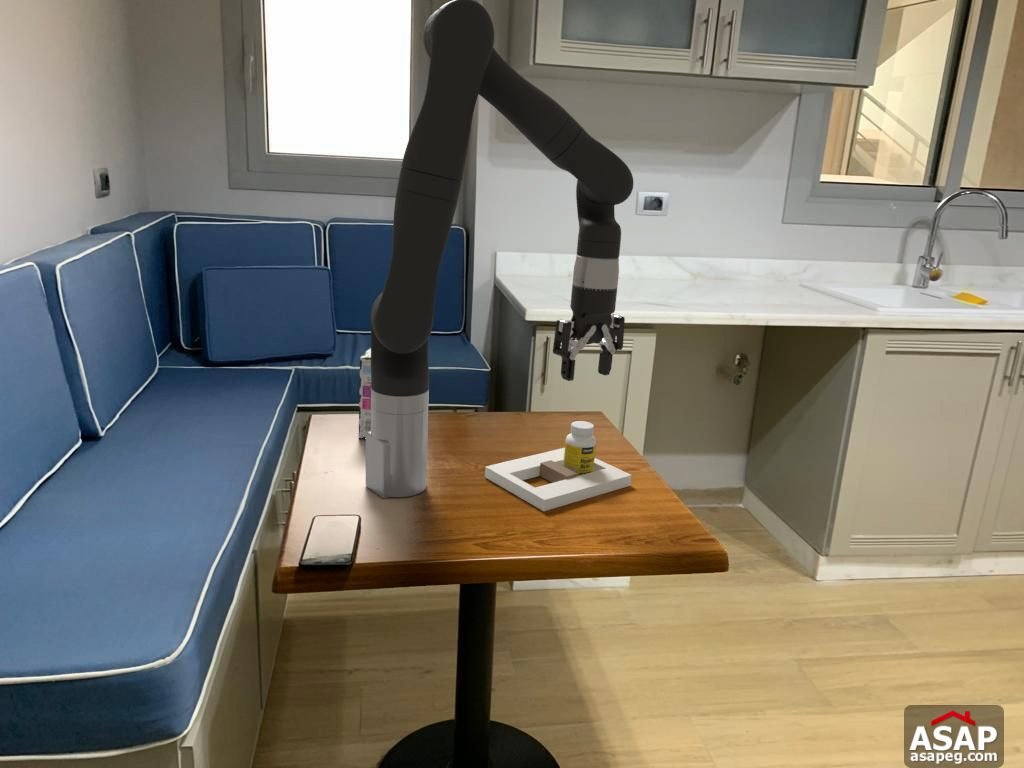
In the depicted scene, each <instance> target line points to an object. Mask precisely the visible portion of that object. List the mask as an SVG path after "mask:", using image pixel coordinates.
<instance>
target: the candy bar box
mask: <svg viewBox="0 0 1024 768" xmlns="http://www.w3.org/2000/svg"><path fill="white" fill-rule="evenodd" d="M358 397H359V399H358V400H359V402H358V404H359V405H358V406H359V407H358V437H359V438H366V433H367V432H369V431H371V346H370V347H369V348H368V349H367V350H366V351H365V352H364V353H363V354H362V355H361V356H360V357H359V396H358ZM359 438H358V439H359Z"/></svg>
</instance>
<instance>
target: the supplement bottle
mask: <svg viewBox="0 0 1024 768" xmlns="http://www.w3.org/2000/svg"><path fill="white" fill-rule="evenodd" d="M594 427H595V425H594V424H593V423H591V422H588V421H586V420H585V421H582V420H578V421H573V422H571V424H570V432H571V433H569V434H567V435H566V438H565V442H564V443H565V445H564V448H565V452H564V463H563V466H564V467H566V468H568V469H570V470H572V471H574V472H576V473H578V474H577V476H580V475H584V474H587V473H591V472H593V467H594V458H596V457H595V455H596V448H597V439H596V437H595V436H594V429H595V428H594Z"/></svg>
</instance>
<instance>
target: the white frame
mask: <svg viewBox="0 0 1024 768" xmlns="http://www.w3.org/2000/svg"><path fill="white" fill-rule="evenodd" d="M564 452H565V447H561V448H557V449H553V450H549V451H544V452H542V453H541V452H540V453H536V454H532V455H528V456H525V457H520V458H516V459H510V460H506V461H502V462H499V463H495V464H490V465H486V466H485V467H484V468H485V469H484V478H485V479H488V480H489V481H490V482H492V483H494V484H496V485H498V486H499V487H501V488H503V489H505V490H506V491H508V492H510V493H511V494H514V495H515V496H516V497H518V498H519V499H522V500H524V501H525V502H527V503H529V504H530V505H532V506H534V507H535V508H537V509H539V510H540V511H542V512H547V511H550V510H553V509H556V508H557V509H558V508H561V507H563V506H567V505H570V504H573V503H576V502H580V501H583V500H586V499H590V498H593V497H597V496H601V495H603V494H606V493H610V492H611V493H612V492H613V491H616V490H617V491H618V490H620V489H623V488H626V487H630V486H631V484H632V474H630V473H628V472H626V471H624V470H622V469H621V468H617V467H615V466H613V465H611V464H609V463H607V462H605V461H602V460H600V459H598V458H596V457H595V458H594V467H593V472H591V473H587V474H584V475H580V476H577V474H578V473H576V472H574V471H572V470H570V469H568V468H566V467H564V466H563V463H564ZM536 477H537V478H538V477H540V478H543V479H544V480H546V481H549V482H550V483H548V484H544V485H540V486H536V487H534V486H533V485H531V484H529V483H528V482H526V480H529V479H533V478H536Z"/></svg>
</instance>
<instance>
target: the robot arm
mask: <svg viewBox="0 0 1024 768" xmlns="http://www.w3.org/2000/svg"><path fill="white" fill-rule="evenodd" d="M422 36H423V37H422V38H423V39H422V40H423V41H422V42H423V46H424V50H425V51H426V54H427V56H428V57H429V59H430V61H429V69H428V77H427V84H426V90H425V95H424V99H423V102H422V104H421V107H420V110H419V113H418V116H417V119H416V120H415V124H414V126H413V128H412V131H411V134H410V136H409V139H408V141H407V144H406V147H405V150H404V154H403V158H402V162H401V167H400V172H399V177H398V181H397V186H396V192H395V201H394V209H393V221H392V222H393V225H392V249H391V251H392V252H391V253H392V254H391V259H390V264H389V269H388V274H387V276H386V280H385V283H384V287H383V290H382V292H381V293H380V294H379V295H378V296H377V298H376V299H375V301H374V302H373V304H372V307H371V311H370V312H371V313H370V347H371V431H369V432H367V433H366V439H365V487H367V488H368V489H370V490H371V491H372V492H374V493H375V494H377V495H378V496H379V497H381V499H387V498H408V497H413V496H416V495H418V494H421V493H422V492H424V491H425V490H426V489H427V488H426V487H427V475H428V474H427V467H428V466H427V465H428V463H427V461H428V459H427V458H428V431H429V430H428V429H429V427H428V425H429V397H430V396H429V395H430V394H429V393H430V369H429V337H430V336H431V335H432V334H431V333H432V330H433V326H434V317H435V316H434V315H435V314H434V313H435V302H436V295H437V294H436V293H437V285H438V277H439V272H440V266H441V263H442V259H443V255H444V253H445V251H446V246H447V244H448V240H449V236H450V234H451V233H450V232H451V229H452V226H453V222H454V217H455V213H456V210H457V206H458V203H459V202H458V201H459V197H460V192H461V187H462V182H463V177H464V172H465V165H466V160H467V154H468V150H469V144H470V143H469V142H470V137H471V131H472V123H473V122H472V121H473V116H474V111H475V107H476V102H477V100H478V96H480V97H481V98H483V99H484V100H485V101H486V102H487V103H489V104H490V105H491V106H493V107H494V109H496V110H497V111H498V112H499V113H500V114H502V116H503V117H504V118H505V119H507V121H509V122H510V123H511V124H512V126H514V127H515V128H516V129H517V130H518V131H519V132H520V133H521V134H522V135H523V136H524V137H525V138H526V140H528V141H529V142H531V143H532V145H533V146H534V147H535V148H536V149H538V151H539V152H541V153H542V154H543V156H545V157H546V158H547V159H548V161H550V162H551V163H553V165H554V166H556V167H557V168H559V169H561V170H563V171H565V172H568V173H569V174H571V175H572V176H573V177H574V178H575V179H577V181H576V188H575V191H576V192H575V193H576V194H575V197H576V198H575V199H576V209H577V210H576V211H577V213H576V214H577V219H578V235H577V244H576V245H577V246H576V255H575V261H574V265H573V266H574V267H573V271H572V272H573V275H572V283H571V284H572V286H571V294H570V295H571V297H570V305H569V307H570V310H571V311H572V317H571V318H570V320H565V319H561V318H558V319H557V320H556V322H555V331H554V332H555V333H554V338H553V340H554V341H553V346H552V354H553V355H557V356H560V357H561V365H560V366H561V367H560V368H561V369H560V376H561V378H562V379H563V380H565V381H567V382H570V381H571V382H572V381H574V379H575V369H576V368H575V366H576V357H577V356H578V354H579V352H580V351H582V350H583V349H584V348H585V346H586V345H591V344H593V343H594V344H597V345H598V348H599V349H600V351H601V352H599V358H598V368H597V371H598V372H597V373H598V374H600V375H603V376H610V372H611V370H612V363H613V356H614V355H615V353H616V351H618V350H619V351H621V350H623V347H624V336H625V335H624V334H625V321H626V319H625V317H624V316H621V315H620V314H619V315H618V314H615V311H616V307H617V306H616V304H617V296H618V295H617V293H618V285H619V278H620V277H619V276H620V262H619V261H620V252H621V251H620V250H621V241H622V227H621V225H620V224H619V223H618V222H617V221H616V215H615V206H617V205H620V204H622V203H624V202H626V200H627V199H629V197H630V196H631V194H632V192H633V190H634V189H633V188H634V177H633V174H632V171H631V170H630V168H629V166H628V165H627V164H626V162H624V161H623V159H622V158H620V156H618V155H617V154H616V153H614V151H612V150H610V149H609V148H608V147H606V146H605V145H604V144H602V143H601V142H600V141H598V140H597V139H595V138H594V137H592V136H591V135H590V134H589V132H587V131H586V129H585V128H583V126H582V125H580V123H579V122H578V121H577V120H576V119H575V118H574V117H573V116H571V114H570V113H569V112H568V111H567V110H566V109H565V108H564V107H562V105H561V104H559V103H558V102H557V101H556V100H555V99H553V98H552V97H551V96H550V95H548V94H547V93H545V92H544V91H543V90H541V89H540V88H538V87H537V86H535V85H534V84H533V83H531V82H530V81H529V80H527V79H526V78H525V77H523V76H522V75H521V74H519V73H518V72H517V71H516V70H515V69H513V67H512V66H511V65H510V64H508V63H507V62H506V60H504V59H503V57H502V56H501V55H500V54H499V53H498V52H497V50H496V49H495V48H494V45H495V28H494V23H493V20H492V17H491V16H490V13H489V12H488V10H487V9H486V8H485V7H484V6H483V5H482V4H481V3H480V2H478V1H476V0H451V1H448V2H445V4H443V5H442V6H440V7H439V8H438V9H436V10H435V11H434V12H433V13H432V14H431V15H429V17H428V19H427V21H426V22H425V24H424V28H423V33H422ZM576 340H577V341H576Z"/></svg>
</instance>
